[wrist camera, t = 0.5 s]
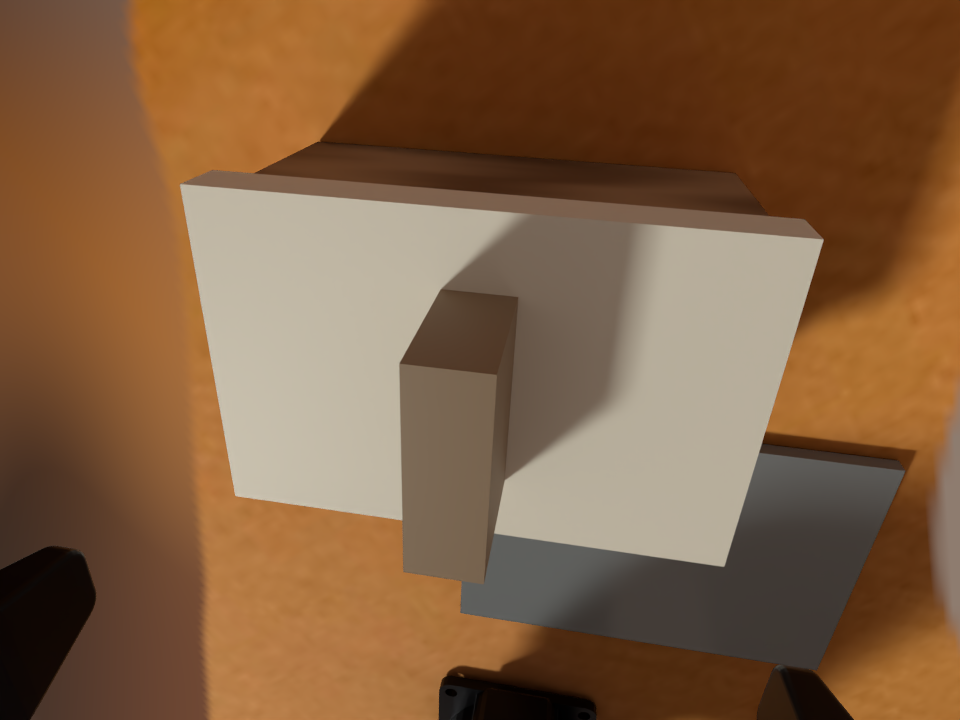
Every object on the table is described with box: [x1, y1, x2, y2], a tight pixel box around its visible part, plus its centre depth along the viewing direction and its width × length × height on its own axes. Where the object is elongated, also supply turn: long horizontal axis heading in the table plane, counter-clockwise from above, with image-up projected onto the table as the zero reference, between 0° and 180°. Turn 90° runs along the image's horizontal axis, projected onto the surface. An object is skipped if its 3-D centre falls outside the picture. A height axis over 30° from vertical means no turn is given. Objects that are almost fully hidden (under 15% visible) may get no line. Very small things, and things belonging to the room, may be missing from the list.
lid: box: [180, 170, 824, 584], centre depth 13 cm, size 12×8×5 cm, turn 88°
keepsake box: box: [254, 142, 769, 216], centre depth 17 cm, size 11×7×5 cm, turn 88°
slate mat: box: [461, 444, 905, 670], centre depth 22 cm, size 9×13×1 cm
